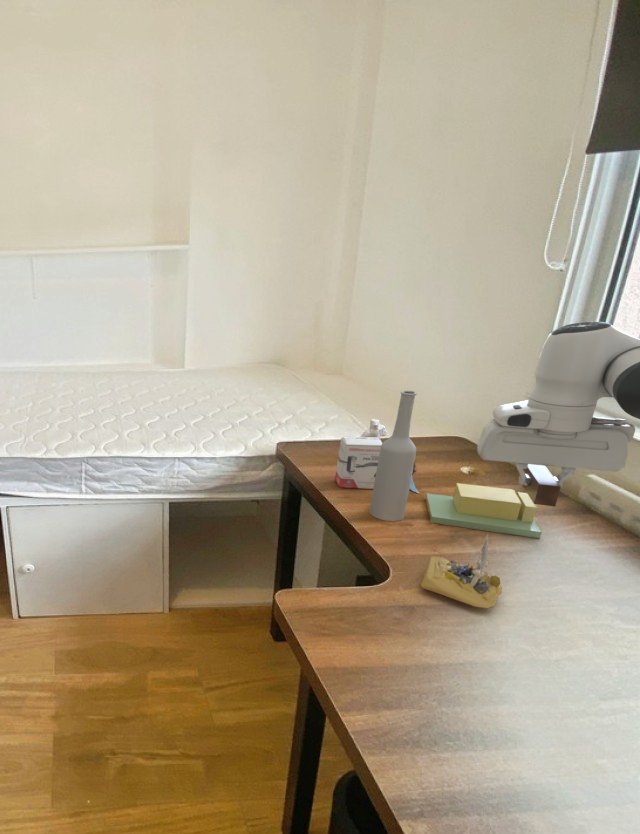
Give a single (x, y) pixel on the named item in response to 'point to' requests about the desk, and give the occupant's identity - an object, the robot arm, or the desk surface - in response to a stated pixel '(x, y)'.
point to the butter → (486, 501)
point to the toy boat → (463, 580)
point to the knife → (412, 486)
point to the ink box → (358, 462)
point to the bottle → (395, 466)
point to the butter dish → (475, 518)
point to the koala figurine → (375, 430)
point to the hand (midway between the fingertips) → (538, 485)
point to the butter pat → (526, 508)
